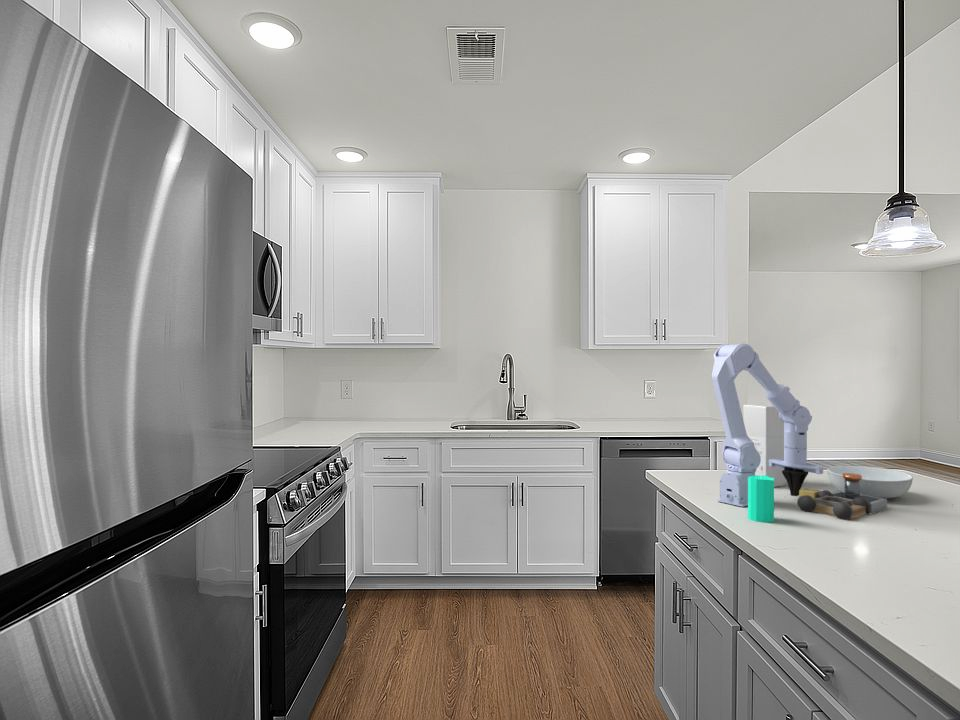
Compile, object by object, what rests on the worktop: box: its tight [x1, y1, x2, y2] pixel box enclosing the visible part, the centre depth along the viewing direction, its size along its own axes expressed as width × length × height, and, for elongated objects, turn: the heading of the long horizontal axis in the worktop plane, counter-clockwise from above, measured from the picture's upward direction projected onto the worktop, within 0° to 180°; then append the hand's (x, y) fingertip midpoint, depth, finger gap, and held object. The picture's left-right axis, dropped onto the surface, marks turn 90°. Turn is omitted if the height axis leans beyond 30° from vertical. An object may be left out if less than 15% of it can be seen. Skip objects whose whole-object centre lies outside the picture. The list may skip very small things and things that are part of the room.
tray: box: [831, 490, 888, 515], centre depth 164 cm, size 9×12×2 cm
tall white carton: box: [742, 403, 787, 488], centre depth 191 cm, size 9×9×25 cm
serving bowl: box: [827, 465, 914, 499], centre depth 176 cm, size 21×21×7 cm
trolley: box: [796, 489, 871, 520], centre depth 158 cm, size 13×11×4 cm
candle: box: [747, 475, 775, 523], centre depth 151 cm, size 6×6×12 cm
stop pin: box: [843, 473, 862, 500], centre depth 163 cm, size 4×4×8 cm
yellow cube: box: [798, 487, 821, 499], centre depth 168 cm, size 4×4×4 cm
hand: (795, 495), depth 171 cm, fingers closed
